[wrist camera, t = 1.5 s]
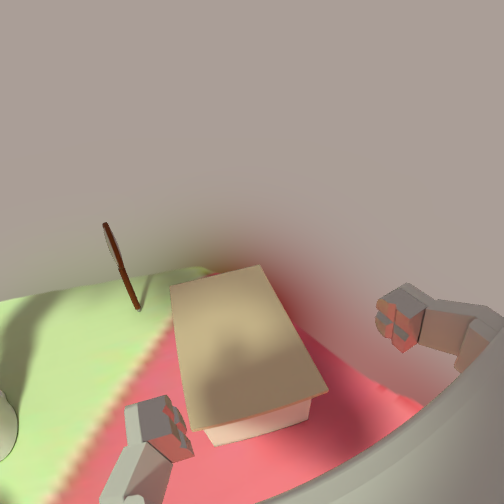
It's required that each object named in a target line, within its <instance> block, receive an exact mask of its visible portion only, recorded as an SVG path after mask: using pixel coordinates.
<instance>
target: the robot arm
mask: <svg viewBox="0 0 504 504" xmlns="http://www.w3.org/2000/svg"><path fill="white" fill-rule="evenodd" d="M376 308H377V309H378V310H379V311H378V313H377V315H376V320H375V323H376V326H377V329H378V331H379V332H380V333H381V334H382V335H383V336H384V337H385V338H391V340H392V344H393V345H394V346H395V347H396V348H397V349H398V350H399V351H401V352H402V353H404V352H406V351H407V350H409V349H410V348H411V347H413V346H414V345H416V344H417V343H418V344H419V345H423V346H426V347H429V348H433V349H436V350H439V351H443V352H446V353H449V354H453V355H456V356H457V359H456V361H455V364H454V368H455V369H456V370H457V371H459V372H460V373H461V374H460V375H459V376H458V377H457V378H456V379H455V380H454V381H453V382H452V383H451V384H450V385H449V386H448V387H447V388H446V389H444V391H442V392H441V393H440V394H439V395H438V396H437V397H435V399H433V400H432V401H431V402H430V403H429V404H427V405H426V406H425V407H424V408H422V409H421V410H420V411H419V412H418V413H416V414H415V415H414V416H413V417H411V418H410V419H409V420H407V421H406V422H405V423H403V424H402V425H401V426H399V427H398V428H397V429H395V430H394V431H392V432H391V433H390V434H388V435H387V436H385V437H384V438H382V439H381V440H380V441H378V442H377V443H375V444H374V445H372V446H370V447H369V448H367V449H366V450H364V451H363V452H361V453H359V454H358V455H356V456H354V457H353V458H351V459H349V460H348V461H346V462H344V463H342V464H341V465H339V466H337V467H335V468H333V469H332V470H330V471H328V472H326V473H324V474H322V475H320V476H318V477H316V478H314V479H312V480H310V481H308V482H306V483H304V484H302V485H299V486H297V487H295V488H293V489H291V490H288V491H286V492H284V493H281V494H279V495H276V496H274V497H271V498H269V499H266V500H263V501H261V502H258V503H255V504H504V317H502V316H501V315H499V314H498V313H496V312H495V311H493V310H492V309H490V308H489V307H487V306H483V305H475V304H468V303H461V302H454V301H447V300H439V299H438V300H437V301H436V300H434V299H433V298H431V297H430V296H428V295H427V294H425V293H424V292H422V291H421V290H419V289H418V288H416V287H414V286H413V285H411V284H410V283H405V284H403V285H402V286H400V287H398V288H397V289H395V290H393V291H391V292H390V293H388V294H387V295H385V296H384V297H382V298H380V299H379V300H378V301H377V304H376ZM124 414H125V425H126V435H127V443H128V446H126V447H124V448H123V450H122V452H121V454H120V456H119V458H118V461H117V463H116V465H115V467H114V469H113V471H112V473H111V475H110V477H109V479H108V481H107V483H106V485H105V487H104V489H103V491H102V493H101V496H100V498H99V502H100V504H162V502H163V499H164V495H165V491H166V488H167V484H168V481H169V477H170V474H171V470H172V467H173V464H172V463H175V462H178V461H182V460H185V459H188V458H191V457H194V456H195V455H194V452H193V449H192V445H191V442H190V440H189V439H188V438H187V437H186V436H185V434H186V432H187V428H186V425H185V422H184V420H183V417H182V415H181V414H180V412H179V410H178V409H177V408H176V407H174V406H172V403H171V400H170V399H169V397H168V396H167V395H163V396H160V397H156V398H153V399H149V400H146V401H142V402H138V403H135V404H132V405H128V406H125V410H124ZM16 436H17V417H16V414H15V411H14V409H13V408H12V406H11V405H10V404H9V403H8V402H7V400H6V396H5V394H4V392H3V391H1V390H0V461H1V460H3V459H4V458H5V457H6V456H7V455H8V454H9V453H10V451H11V450H12V448H13V446H14V443H15V440H16Z"/></svg>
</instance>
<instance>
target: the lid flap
mask: <svg viewBox="0 0 504 504" xmlns="http://www.w3.org/2000/svg"><path fill="white" fill-rule="evenodd" d="M170 296H171V306H172V315H173V323H174V331H175V339H176V346H177V353H178V360H179V366H180V373H181V379H182V385H183V391H184V396H185V402H186V407H187V412H188V417H189V422H190V427H191V430H192V432H196V431H201V430H205V429H210V428H215V427H219V426H223V425H227V424H231V423H235V422H239V421H243V420H247V419H250V418H254V417H257V416H261V415H264V414H267V413H271V412H274V411H277V410H280V409H283V408H286V407H289V406H292V405H295V404H298V403H301V402H304V401H306V400H309V399H312V398H315V397H317V396H320V395H322V394H325V393H328V391H329V389H328V387H327V385H326V383H325V382H324V380H323V378H322V376H321V374H320V373H319V371H318V369H317V367H316V365H315V364H314V362H313V360H312V358H311V356H310V355H309V353H308V351H307V349H306V347H305V346H304V344H303V342H302V340H301V338H300V337H299V335H298V333H297V331H296V329H295V328H294V326H293V324H292V322H291V320H290V319H289V317H288V315H287V313H286V311H285V310H284V308H283V306H282V304H281V303H280V301H279V299H278V297H277V295H276V294H275V292H274V290H273V288H272V286H271V284H270V283H269V281H268V279H267V277H266V275H265V274H264V272H263V270H262V268H261V266H260V265H255V266H251V267H247V268H243V269H239V270H235V271H230V272H226V273H222V274H218V275H214V276H210V277H206V278H201V279H197V280H193V281H189V282H185V283H180V284H176V285H172V286H170Z"/></svg>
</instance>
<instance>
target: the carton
mask: <svg viewBox="0 0 504 504" xmlns="http://www.w3.org/2000/svg"><path fill="white" fill-rule="evenodd" d="M310 405H311V399H309V400H306V401H304V402H301V403H298V404H295V405H292V406H289V407H286V408H283V409H280V410H277V411H274V412H271V413H267V414H264V415H261V416H257V417H254V418H250V419H247V420H243V421H239V422H235V423H231V424H227V425H223V426H219V427H215V428H210V429H205V430H204V431H205V433H206V434H207V436H208V438H209V439H210V441H211V442H212V444H213V445H214V446H215V447H217V446H221V445H225V444H230V443H234V442H238V441H242V440H245V439H249V438H253V437H256V436H260V435H263V434H267V433H270V432H273V431H276V430H279V429H282V428H286V427H289V426H291V425H294V424H297V423H300V422H303V421H306V420H308V416H309V411H310Z"/></svg>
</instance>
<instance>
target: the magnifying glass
mask: <svg viewBox="0 0 504 504" xmlns="http://www.w3.org/2000/svg"><path fill="white" fill-rule="evenodd" d="M103 228H104V234H105V239H106V242H107V245H108V248H109V250H110V252H111V254H112V257H113V258H114V260H115V262H116V263H117V265H118V267H119V272H120V274H121V277H122V279H123V282H124V284H125V287H126V289H127V291H128V294H129V296H130V298H131V300H132V303H133V305H134V307H135V309H136V310H137V311H138V312H140V311H141V309H140V308H141V307H140V304H139V302H138V300H137V297H136V295H135V293H134V290H133V288H132V285H131V283H130V280H129V278H128V275H127V273H126V270H125V268H124V265H123V261H122V256H121V253H120V250H119V247H118V244H117V242H116V239H115V237H114V235H113V233H112V231H111V229H110V227H109V225H108V223H107V222H105V223H103Z"/></svg>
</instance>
